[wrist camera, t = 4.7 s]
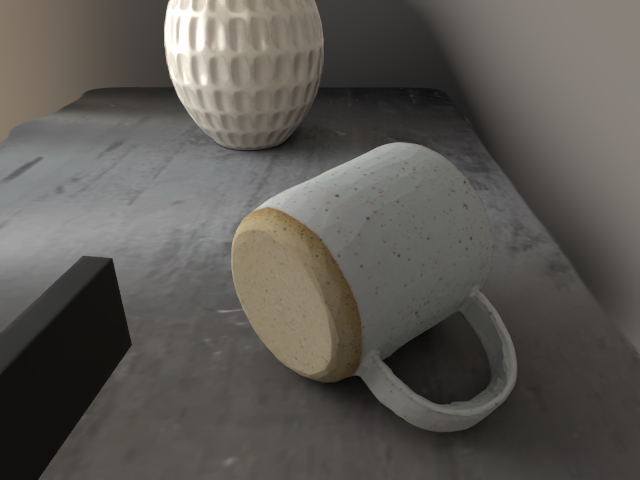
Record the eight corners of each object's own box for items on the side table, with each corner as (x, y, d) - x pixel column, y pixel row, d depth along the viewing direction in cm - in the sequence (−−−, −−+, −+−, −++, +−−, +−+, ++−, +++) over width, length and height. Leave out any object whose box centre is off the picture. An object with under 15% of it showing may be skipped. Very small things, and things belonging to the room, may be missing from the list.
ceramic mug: (224, 334, 22) (206, 168, 18) (353, 264, 27) (360, 122, 23) (426, 503, 15) (466, 298, 12) (547, 370, 20) (603, 195, 17)
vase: (349, 149, 43) (356, -83, 35) (200, 175, 38) (168, -90, 30) (288, 113, 53) (283, -74, 45) (164, 129, 48) (133, -78, 40)
